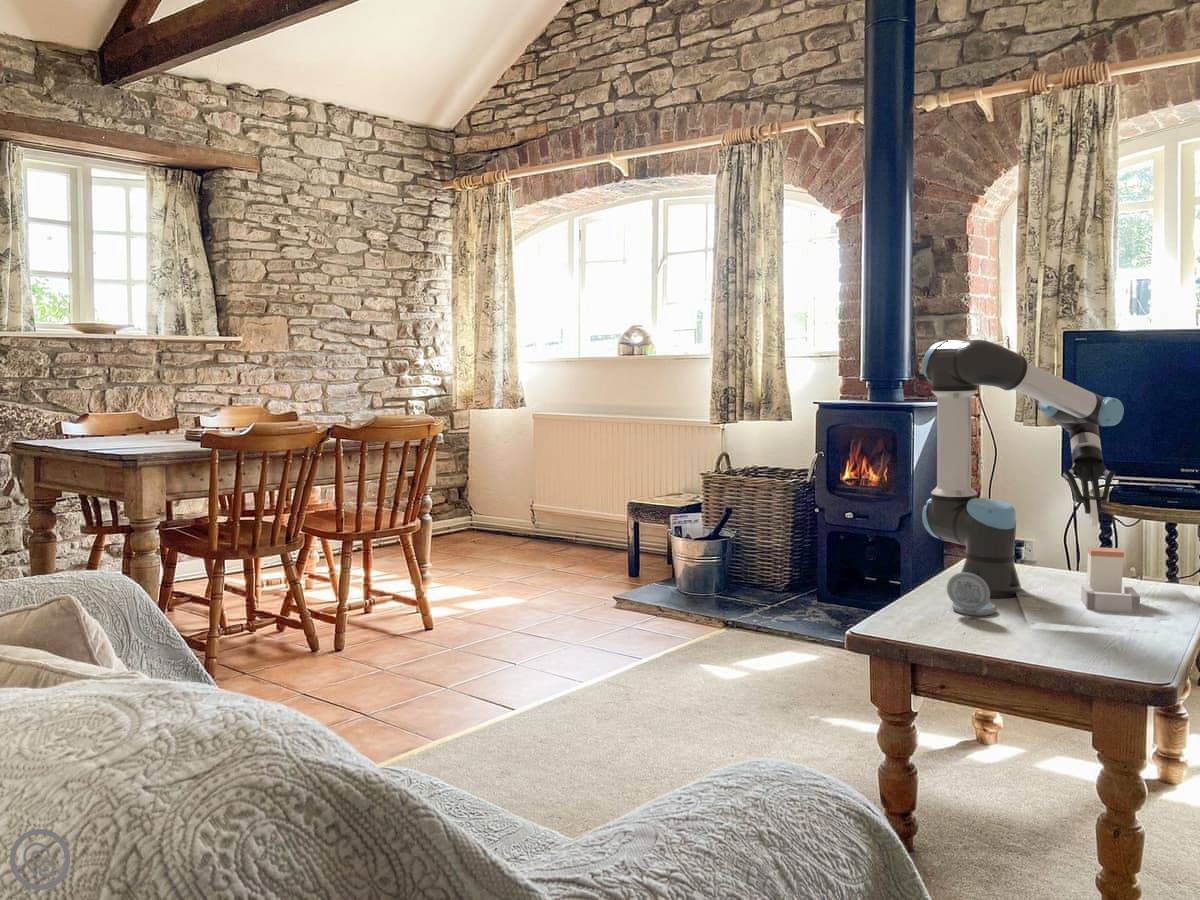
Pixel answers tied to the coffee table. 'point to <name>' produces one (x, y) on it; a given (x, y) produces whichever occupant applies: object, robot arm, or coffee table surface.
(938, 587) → the coffee table surface
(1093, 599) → the base
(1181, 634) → the coffee table surface
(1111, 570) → the orange-topped white block
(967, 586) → the embossed oval plaque stand
